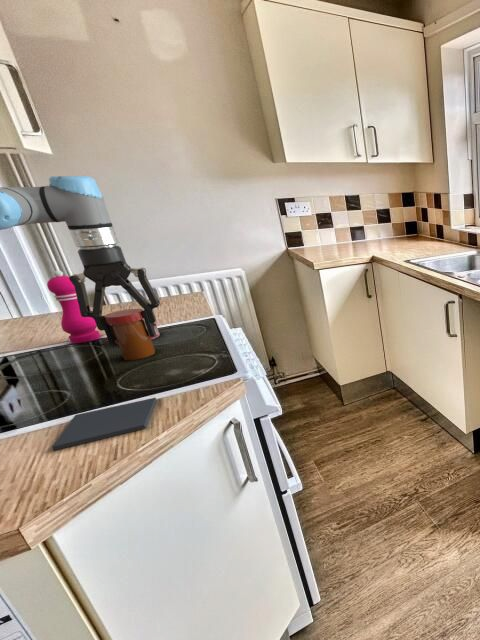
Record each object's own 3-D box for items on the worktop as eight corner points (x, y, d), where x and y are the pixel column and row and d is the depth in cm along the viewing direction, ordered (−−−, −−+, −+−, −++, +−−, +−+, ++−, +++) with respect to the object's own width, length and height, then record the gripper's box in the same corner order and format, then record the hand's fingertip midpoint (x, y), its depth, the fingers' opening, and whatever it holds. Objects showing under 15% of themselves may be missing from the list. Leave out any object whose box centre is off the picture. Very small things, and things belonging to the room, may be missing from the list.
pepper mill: (106, 338, 122) (78, 269, 114) (72, 346, 116) (41, 274, 109) (98, 333, 125) (71, 267, 118) (65, 341, 120) (34, 271, 113)
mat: (53, 450, 69) (51, 446, 69) (76, 418, 79) (75, 414, 79) (145, 428, 75) (144, 424, 75) (157, 400, 85) (155, 397, 84)
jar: (120, 362, 104) (104, 321, 100) (126, 354, 109) (111, 315, 105) (153, 356, 107) (138, 316, 103) (157, 348, 112) (143, 310, 108)
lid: (127, 315, 109) (124, 308, 108) (153, 315, 108) (150, 308, 107) (98, 324, 102) (95, 317, 101) (125, 325, 101) (122, 317, 100)
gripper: (31, 253, 90) (75, 351, 99) (150, 244, 100) (180, 334, 108) (45, 249, 96) (85, 342, 105) (155, 240, 106) (183, 326, 114)
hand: (133, 338), depth 106 cm, fingers closed on lid, 7 cm apart
